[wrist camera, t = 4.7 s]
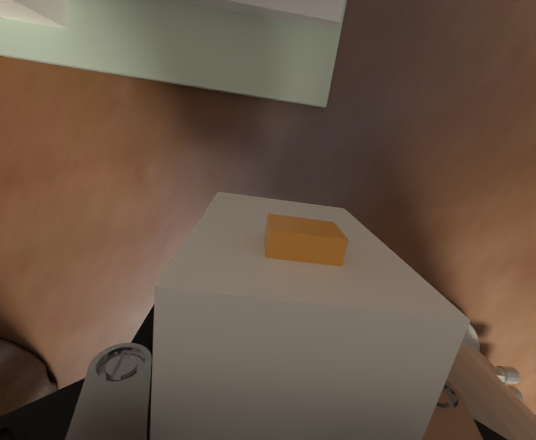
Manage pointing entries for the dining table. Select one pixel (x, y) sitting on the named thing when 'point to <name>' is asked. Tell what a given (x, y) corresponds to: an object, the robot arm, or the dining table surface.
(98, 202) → the dining table surface
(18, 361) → the plant pot
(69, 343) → the dining table surface
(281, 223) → the block
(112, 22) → the din panel
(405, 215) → the dining table surface
